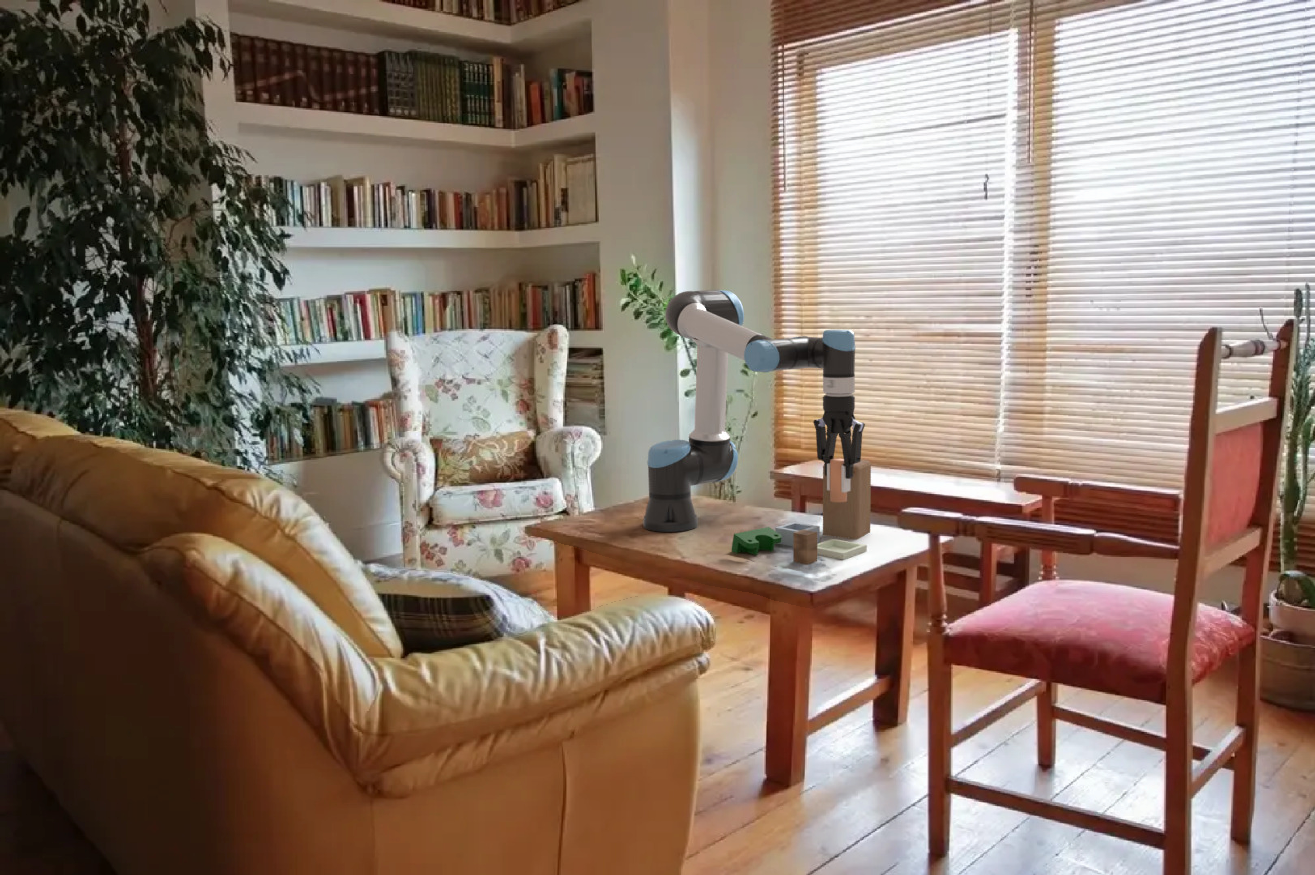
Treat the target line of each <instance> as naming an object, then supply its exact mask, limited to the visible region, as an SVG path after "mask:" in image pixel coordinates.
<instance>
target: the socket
mask: <svg viewBox="0 0 1315 875" xmlns="http://www.w3.org/2000/svg"><path fill="white" fill-rule="evenodd" d="M820 529H821V527H820V526H819V525H813V524H809V523H804V522H797V521H792V522H789V523H786V524H782V525H779V526H776V527H774V531H776V532H777V533H779V534H780V535H781V536H782V538H781V542H780V543H777V544H779V545H782V546H789V547H793V533H794V532H797V531H801V530H808V531H814V532H817V544H818V543H821V539H820V538H821V532H820V531H821V530H820Z"/></svg>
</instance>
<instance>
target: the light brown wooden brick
mask: <svg viewBox="0 0 1315 875" xmlns="http://www.w3.org/2000/svg"><path fill="white" fill-rule="evenodd" d="M817 544H818V543H817V532H814V531H808V530H801V531H797V532H794V533H793V558H792V559H793V562H794V563H797V564H798V563H799V564H802V565H810V564H813V563H815V562H816V563H817V562H818V554H817Z"/></svg>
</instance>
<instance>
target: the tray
mask: <svg viewBox="0 0 1315 875" xmlns="http://www.w3.org/2000/svg"><path fill="white" fill-rule="evenodd" d="M867 547H868V545H867V544H863V543H859V542H853V541H847V540H843V539H837V538H829V539H827V540H824V541H820V542H818V543H817V556H818V555H819V556H825V557H829V558H834V559H839V560H846V559H847V560H848V559H849V558H852V557H855V556H857V555H860V554H863V553H866V552H867V551H868V548H867Z"/></svg>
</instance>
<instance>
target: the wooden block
mask: <svg viewBox="0 0 1315 875" xmlns="http://www.w3.org/2000/svg"><path fill="white" fill-rule="evenodd" d="M837 459H842V458H840V457H839V458H837ZM871 473H872V464H871V461H869V460H863V459H861V461H860V462H859V463H855V464H854V465H853V478H850V491H848V492H847V501H846V502H832V501H830V490H827V476H825V463H823V466H822V536H825V537H826V536H827V537H833V538H842V539H849V540H851V539H852V540H860V539H861V538H863V537H864V536H865V535H868V534H869V533H871V506H872V505H871V496H872V495H871V493H872V492H871V491H872V490H871V489H872V488H871V487H872V486H871V485H872V476H871V475H872V474H871Z"/></svg>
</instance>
